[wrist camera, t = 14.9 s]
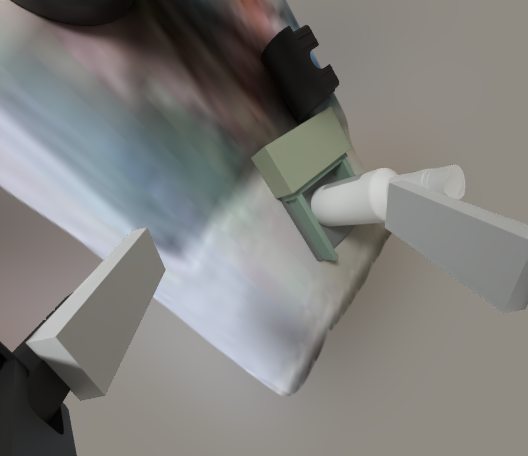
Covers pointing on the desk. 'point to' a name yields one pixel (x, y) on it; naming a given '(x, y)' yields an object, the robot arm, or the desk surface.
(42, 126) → the desk surface
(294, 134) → the chute bracket
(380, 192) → the spray bottle
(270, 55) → the end cap
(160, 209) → the desk surface
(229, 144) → the desk surface
